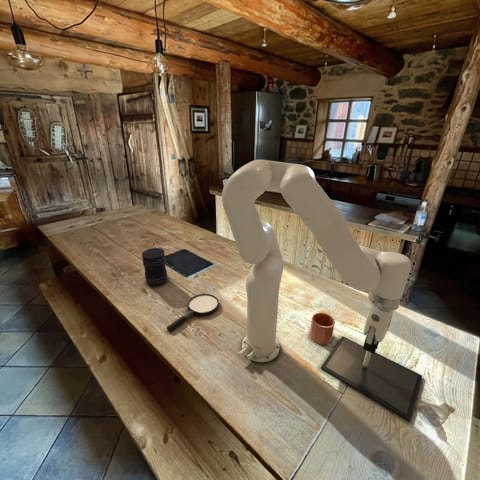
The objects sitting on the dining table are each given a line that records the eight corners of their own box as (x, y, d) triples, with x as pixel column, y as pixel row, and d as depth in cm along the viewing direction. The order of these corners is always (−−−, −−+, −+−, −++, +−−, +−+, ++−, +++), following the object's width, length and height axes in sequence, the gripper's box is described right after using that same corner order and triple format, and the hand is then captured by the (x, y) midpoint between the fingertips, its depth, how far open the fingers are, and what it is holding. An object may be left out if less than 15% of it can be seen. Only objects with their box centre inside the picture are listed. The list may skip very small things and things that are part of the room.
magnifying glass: (157, 324, 99) (157, 319, 98) (202, 293, 116) (202, 289, 115) (180, 339, 92) (180, 334, 91) (224, 304, 110) (224, 300, 109)
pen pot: (326, 348, 89) (329, 330, 86) (305, 337, 93) (308, 320, 90) (335, 335, 94) (338, 319, 91) (315, 325, 99) (318, 309, 96)
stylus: (366, 369, 80) (375, 336, 75) (361, 367, 81) (370, 334, 76) (368, 366, 81) (377, 334, 76) (363, 364, 82) (372, 331, 76)
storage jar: (157, 273, 132) (153, 246, 125) (172, 279, 127) (169, 251, 121) (141, 282, 124) (136, 254, 118) (156, 289, 119) (152, 260, 113)
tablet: (409, 421, 67) (410, 419, 67) (320, 368, 82) (321, 366, 81) (421, 377, 79) (422, 375, 79) (342, 337, 93) (342, 335, 93)
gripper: (392, 318, 63) (375, 373, 70) (406, 289, 74) (390, 340, 81) (359, 305, 67) (347, 358, 75) (377, 280, 78) (365, 328, 86)
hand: (369, 348), depth 78 cm, fingers closed on stylus, 1 cm apart
